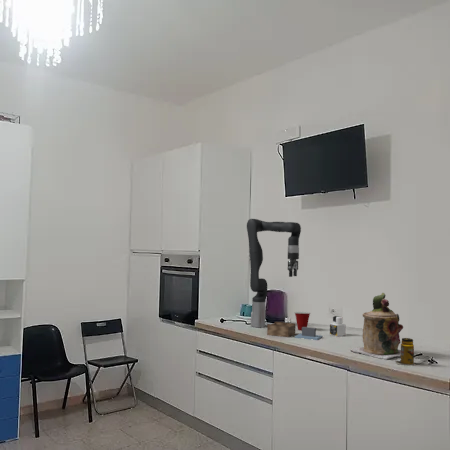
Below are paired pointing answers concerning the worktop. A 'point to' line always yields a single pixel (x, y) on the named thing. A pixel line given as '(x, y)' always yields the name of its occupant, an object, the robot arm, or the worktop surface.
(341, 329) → the medicine bottle
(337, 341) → the worktop surface
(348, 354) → the worktop surface
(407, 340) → the condiment
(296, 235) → the robot arm
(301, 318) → the plastic cup
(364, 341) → the cookie jar
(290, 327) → the wooden box
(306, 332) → the cover plate
